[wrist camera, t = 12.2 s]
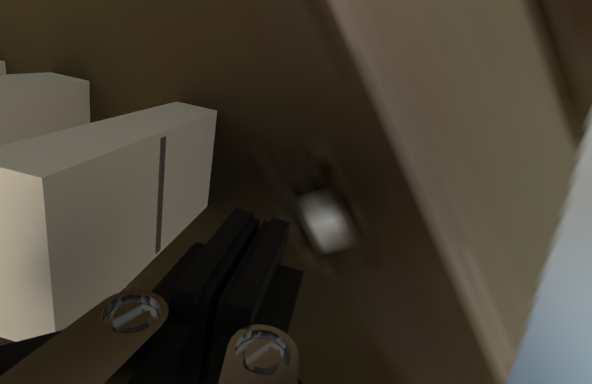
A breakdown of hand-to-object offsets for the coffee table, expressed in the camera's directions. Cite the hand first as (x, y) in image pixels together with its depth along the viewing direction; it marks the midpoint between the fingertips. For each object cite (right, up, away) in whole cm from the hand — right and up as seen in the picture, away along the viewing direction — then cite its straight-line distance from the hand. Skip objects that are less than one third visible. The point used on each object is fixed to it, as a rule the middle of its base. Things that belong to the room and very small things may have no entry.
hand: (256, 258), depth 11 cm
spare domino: (-4, +4, +7) cm, 9 cm away
